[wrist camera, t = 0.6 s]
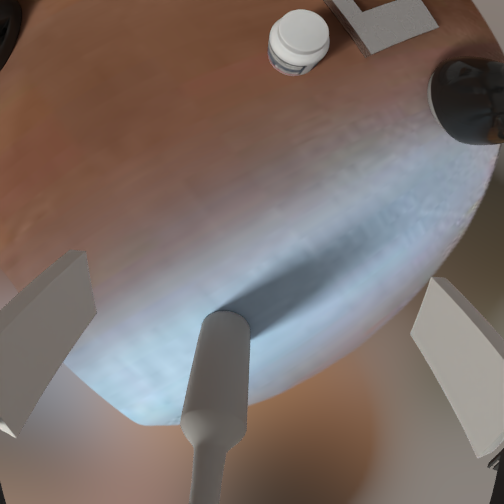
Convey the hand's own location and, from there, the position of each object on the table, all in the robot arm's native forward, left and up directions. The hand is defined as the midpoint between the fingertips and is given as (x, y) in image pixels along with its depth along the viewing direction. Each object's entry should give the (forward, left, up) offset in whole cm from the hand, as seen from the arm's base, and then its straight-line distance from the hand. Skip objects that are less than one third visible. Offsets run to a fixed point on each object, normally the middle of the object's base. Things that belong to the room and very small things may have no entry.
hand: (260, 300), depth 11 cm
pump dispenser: (+3, +26, -24) cm, 35 cm away
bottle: (+14, -14, -24) cm, 31 cm away
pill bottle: (-10, +11, -24) cm, 28 cm away
